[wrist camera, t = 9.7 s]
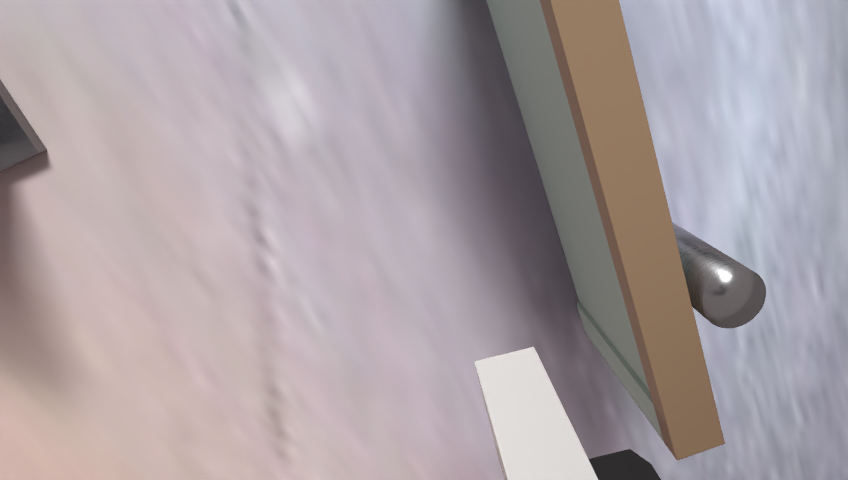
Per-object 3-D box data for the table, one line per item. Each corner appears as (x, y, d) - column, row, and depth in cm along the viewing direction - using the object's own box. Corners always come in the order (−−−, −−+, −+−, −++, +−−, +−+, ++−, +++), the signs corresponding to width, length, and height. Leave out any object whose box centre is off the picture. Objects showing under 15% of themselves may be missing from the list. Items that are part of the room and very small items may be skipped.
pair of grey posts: (500, -214, 27) (605, -432, 14) (644, 219, 34) (797, 321, 21) (-113, 89, 29) (-480, 123, 16) (142, 438, 36) (20, 646, 23)
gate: (461, -65, 28) (514, -132, 17) (502, -81, 28) (580, -158, 17) (585, 332, 35) (677, 460, 24) (618, 320, 35) (724, 443, 24)
